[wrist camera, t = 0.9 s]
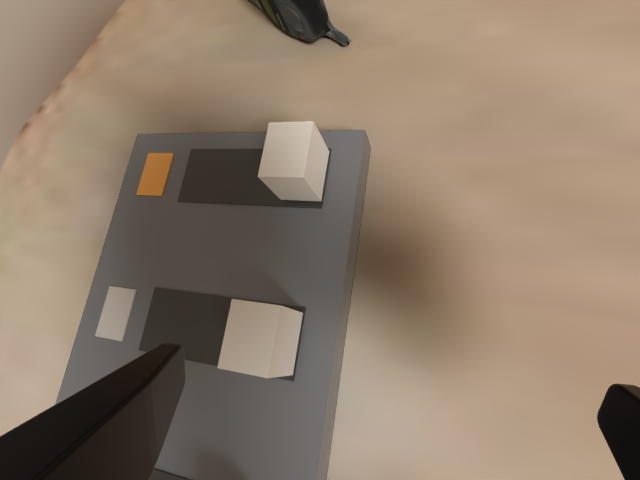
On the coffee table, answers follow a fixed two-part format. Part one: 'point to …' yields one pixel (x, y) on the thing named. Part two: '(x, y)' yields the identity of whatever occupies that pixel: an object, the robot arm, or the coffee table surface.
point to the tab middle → (260, 339)
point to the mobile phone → (301, 19)
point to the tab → (294, 161)
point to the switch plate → (227, 297)
